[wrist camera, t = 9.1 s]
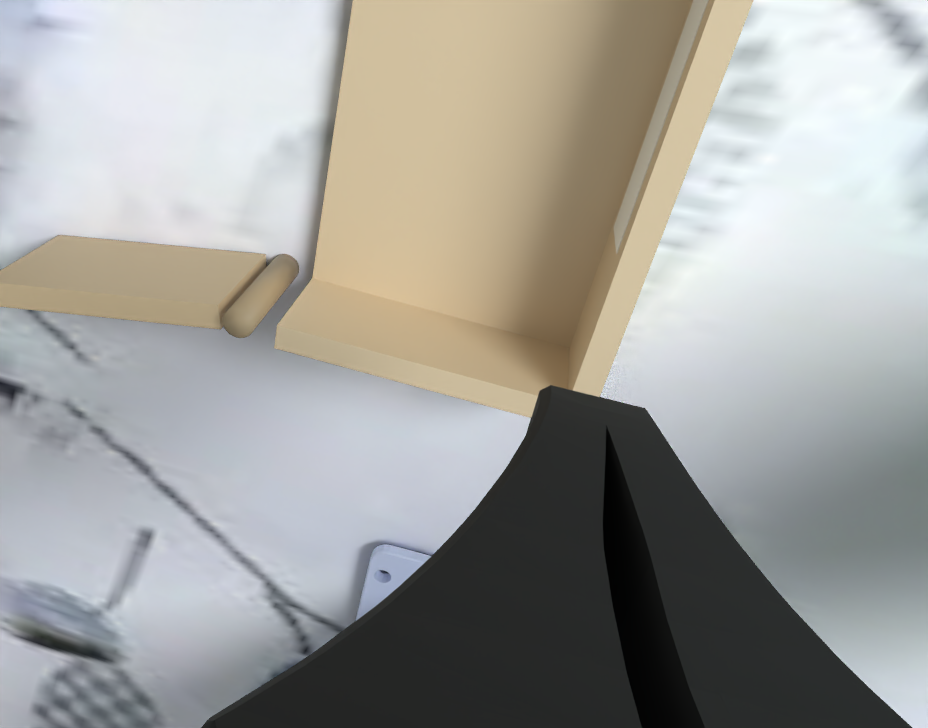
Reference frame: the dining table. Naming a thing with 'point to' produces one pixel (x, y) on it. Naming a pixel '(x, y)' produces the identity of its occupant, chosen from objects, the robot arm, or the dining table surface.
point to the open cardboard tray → (503, 187)
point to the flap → (148, 283)
